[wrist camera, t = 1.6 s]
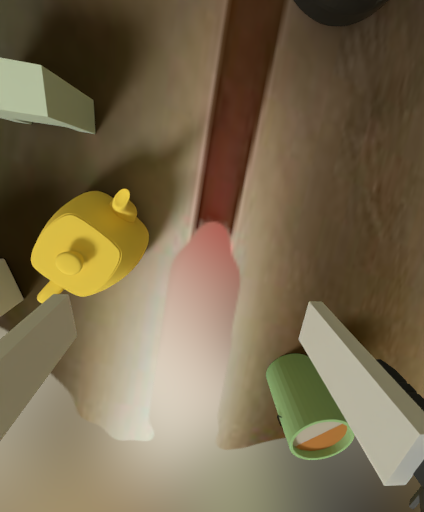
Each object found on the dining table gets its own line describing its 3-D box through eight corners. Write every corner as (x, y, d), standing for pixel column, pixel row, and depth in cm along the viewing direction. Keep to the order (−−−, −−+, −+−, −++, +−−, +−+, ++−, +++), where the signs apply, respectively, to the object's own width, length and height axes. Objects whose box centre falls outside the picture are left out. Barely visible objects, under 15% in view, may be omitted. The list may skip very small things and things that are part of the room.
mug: (255, 371, 43) (274, 441, 32) (300, 345, 41) (337, 409, 30) (286, 402, 47) (313, 474, 36) (328, 379, 45) (370, 448, 34)
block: (10, 86, 24) (-90, 41, 16) (93, 100, 25) (41, 65, 17) (16, 122, 25) (-73, 98, 17) (95, 134, 26) (47, 116, 18)
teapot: (117, 152, 27) (70, 142, 17) (182, 212, 31) (174, 232, 21) (43, 249, 31) (-29, 286, 21) (108, 293, 35) (72, 342, 25)
